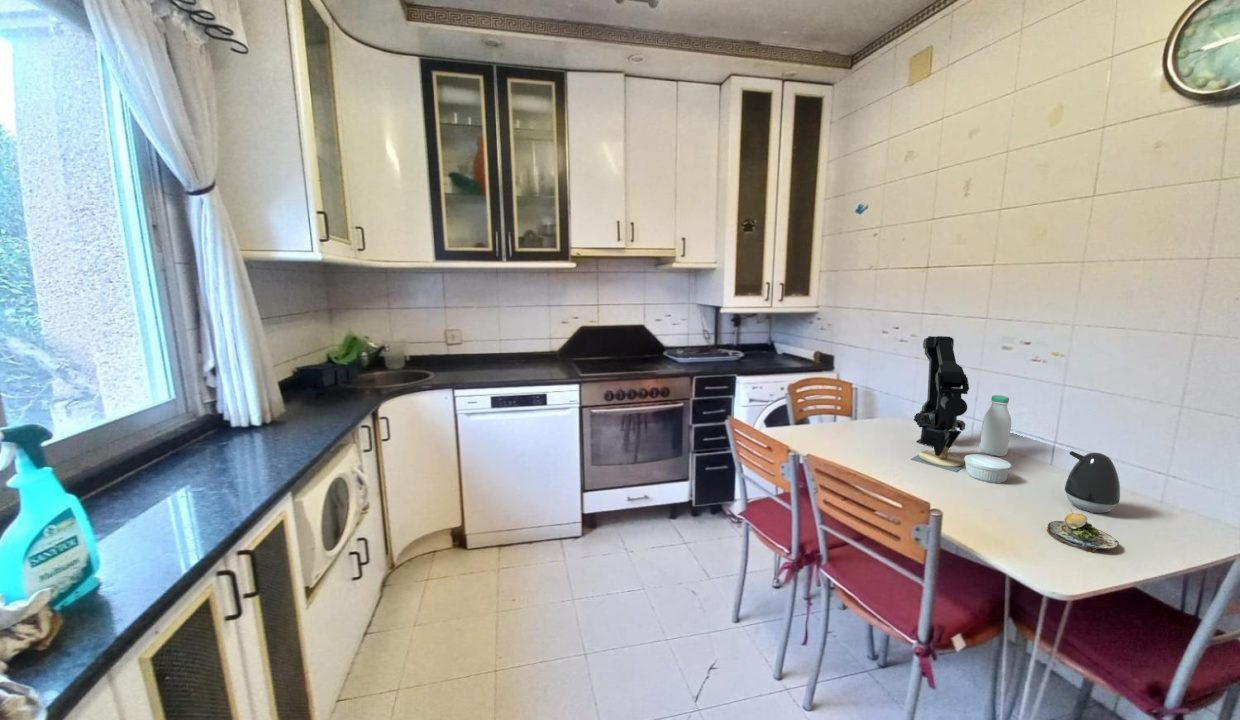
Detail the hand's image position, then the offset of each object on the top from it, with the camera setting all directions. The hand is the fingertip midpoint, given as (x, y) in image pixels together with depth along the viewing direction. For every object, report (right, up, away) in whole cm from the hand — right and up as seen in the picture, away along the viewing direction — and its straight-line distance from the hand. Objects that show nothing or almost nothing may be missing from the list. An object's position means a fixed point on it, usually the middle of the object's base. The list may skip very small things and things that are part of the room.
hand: (941, 453), depth 154 cm
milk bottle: (+23, -1, +8) cm, 25 cm away
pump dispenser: (+17, -8, -31) cm, 37 cm away
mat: (0, -3, 0) cm, 3 cm away
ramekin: (+5, -5, -12) cm, 14 cm away
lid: (0, -2, 0) cm, 2 cm away
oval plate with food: (+1, -11, -46) cm, 47 cm away
